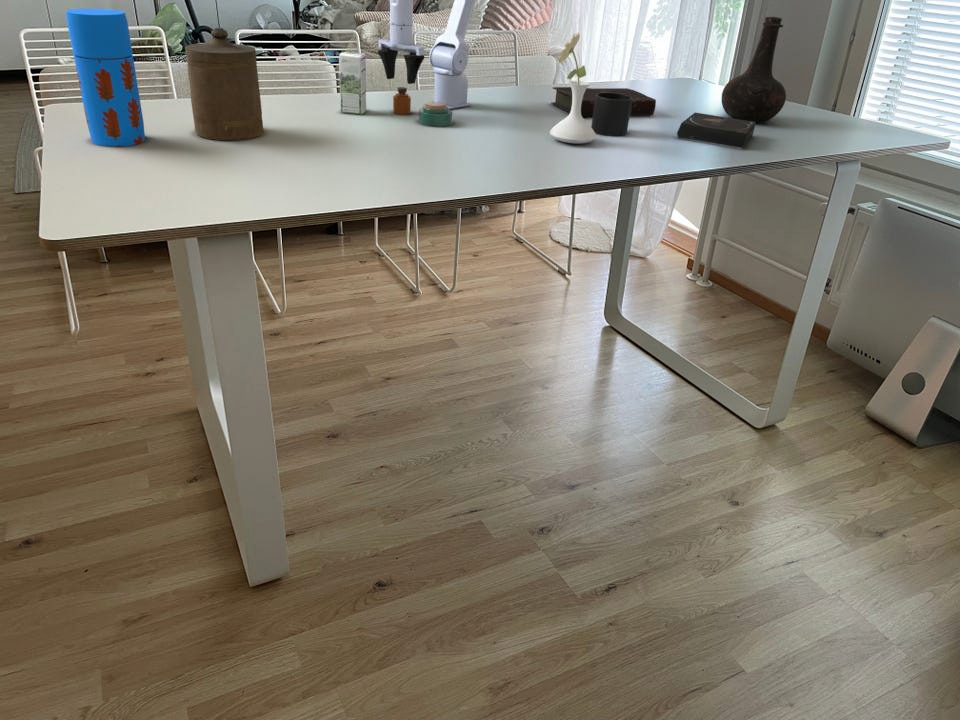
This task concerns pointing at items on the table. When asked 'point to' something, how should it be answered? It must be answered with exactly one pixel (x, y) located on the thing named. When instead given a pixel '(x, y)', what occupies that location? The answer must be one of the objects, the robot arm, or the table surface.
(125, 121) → the thermos
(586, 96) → the diary
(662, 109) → the table surface
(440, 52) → the robot arm
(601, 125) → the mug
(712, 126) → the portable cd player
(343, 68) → the syrup box
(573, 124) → the flower in vase
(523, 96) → the table surface
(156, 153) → the table surface
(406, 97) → the amber bottle
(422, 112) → the green round container
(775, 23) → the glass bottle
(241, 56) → the wooden container
